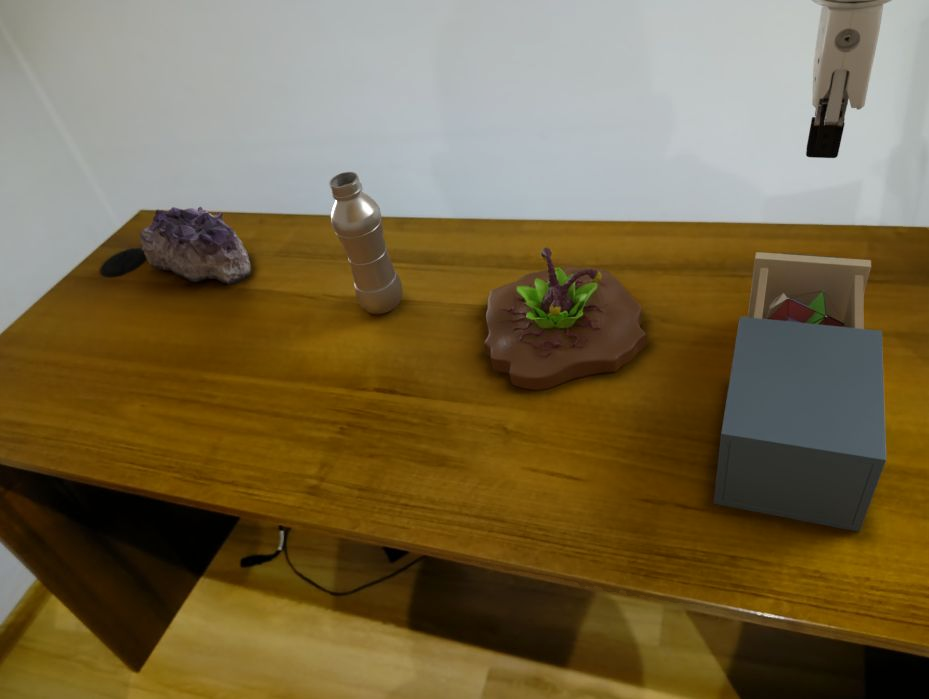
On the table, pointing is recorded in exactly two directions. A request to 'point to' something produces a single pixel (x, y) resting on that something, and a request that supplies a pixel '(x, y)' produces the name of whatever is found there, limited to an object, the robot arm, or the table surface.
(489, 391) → the table surface
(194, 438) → the table surface
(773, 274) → the drawer
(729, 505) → the cabinet
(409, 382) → the table surface
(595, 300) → the plant
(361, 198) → the plastic bottle
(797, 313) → the geometric puzzle
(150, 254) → the geode
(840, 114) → the robot arm
